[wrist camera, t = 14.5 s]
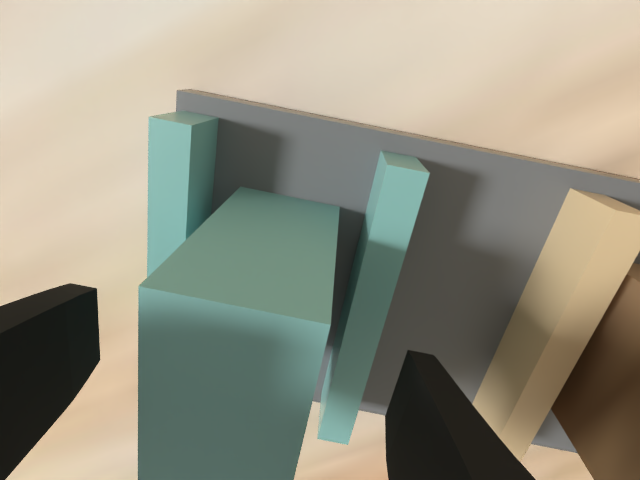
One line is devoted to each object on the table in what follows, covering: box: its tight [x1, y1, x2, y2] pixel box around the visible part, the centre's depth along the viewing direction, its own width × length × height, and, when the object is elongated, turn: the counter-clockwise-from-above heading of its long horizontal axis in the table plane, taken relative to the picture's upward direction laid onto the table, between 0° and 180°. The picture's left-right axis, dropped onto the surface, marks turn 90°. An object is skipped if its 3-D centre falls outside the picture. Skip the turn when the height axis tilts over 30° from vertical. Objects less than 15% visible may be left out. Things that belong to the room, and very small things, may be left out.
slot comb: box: [147, 89, 640, 462], centre depth 12 cm, size 10×18×3 cm, turn 80°
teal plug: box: [138, 187, 340, 480], centre depth 10 cm, size 5×3×6 cm, turn 169°
